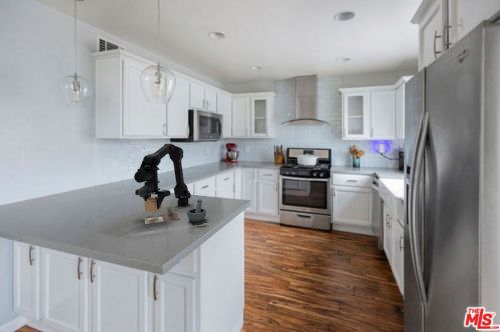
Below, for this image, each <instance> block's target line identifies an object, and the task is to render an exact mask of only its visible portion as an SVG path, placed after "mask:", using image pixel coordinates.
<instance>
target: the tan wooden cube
mask: <svg viewBox="0 0 500 332" xmlns="http://www.w3.org/2000/svg"><path fill="white" fill-rule="evenodd" d="M155 197H156V196H151V197H150V198H147V201H144V212H149V213H150V212H151V213H156V212H158V211H162V210H163V204H161V206H160V208H159V209H157V200H156V199H155Z"/></svg>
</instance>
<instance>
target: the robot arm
mask: <svg viewBox="0 0 500 332" xmlns="http://www.w3.org/2000/svg"><path fill="white" fill-rule="evenodd" d="M167 155H168V156H169V159H170V160H171V162H172V164H173V171H174V177H175V178H174V179H175V186H174V187H173V194H174V197H175V199H177V200H176V202H177V203H176V205H177V207H186V206H187V207H188V206H189V203H190V201H189V199H191V197H192V193H191V192H190V191H189V188H188V185H187V184H186V183H185V180H184V179H185V178H184V172H183V163H182V160H183V158H184V149H183V148H182V147H180V146H178V145H175V144H173V143H164V144H163V146H161V147H160V148H158V149H157V150H156V151H154V152H153V153H148V154H146V155H145V156H144V157H143V159H142V161H141V163H140V166H139V168H136V169H137V171H135V173H134V176H133V179H134V181H135V182H136V183H138V184H141V183H144V185H142V186H141V187H139V188H138V189H135V191H134V193H135V196H139V197H140V198H142V199H143V201H144V202H145V201H147V198H150V197H152V195H157V196H154V197H155V199H156V200H157V209H159V208H160V206H161V204H162V203H163V201H164V199H165V198H167V197H169V196H172V195H171V190H169V189H162V190H161V188H160V187H159V184H160V183H161V182H160V180H159V175H158V174H159V173H158V171H159V170H160V168H159V165H160V164H161V162H162V159H163V158H164V157H166V156H167ZM162 205H163V204H162Z"/></svg>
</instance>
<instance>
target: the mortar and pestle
mask: <svg viewBox="0 0 500 332" xmlns="http://www.w3.org/2000/svg"><path fill="white" fill-rule="evenodd" d="M202 203H203V200H202V199H197V201H196V206H195V208H192V209H188V210H187V211H186V214H187V219H189V221H190V222H191V223H193V224H191V226H194V227H197V226H201V224H202V225H203V223H204V222H203V221H204V219H205V218H206V216H207V210H206V209H204V208H202Z"/></svg>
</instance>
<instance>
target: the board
mask: <svg viewBox="0 0 500 332" xmlns="http://www.w3.org/2000/svg"><path fill="white" fill-rule="evenodd" d="M142 218H143V225H145V226H146V225H152V224H159V223H160V224H161V223H167V222H175V221H181V219H180V216H179V215H178V213H177V212H173V206H170V205H169V206H167V213H165V214H163V213H162V214H157V215H147V216H143V217H142Z"/></svg>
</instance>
